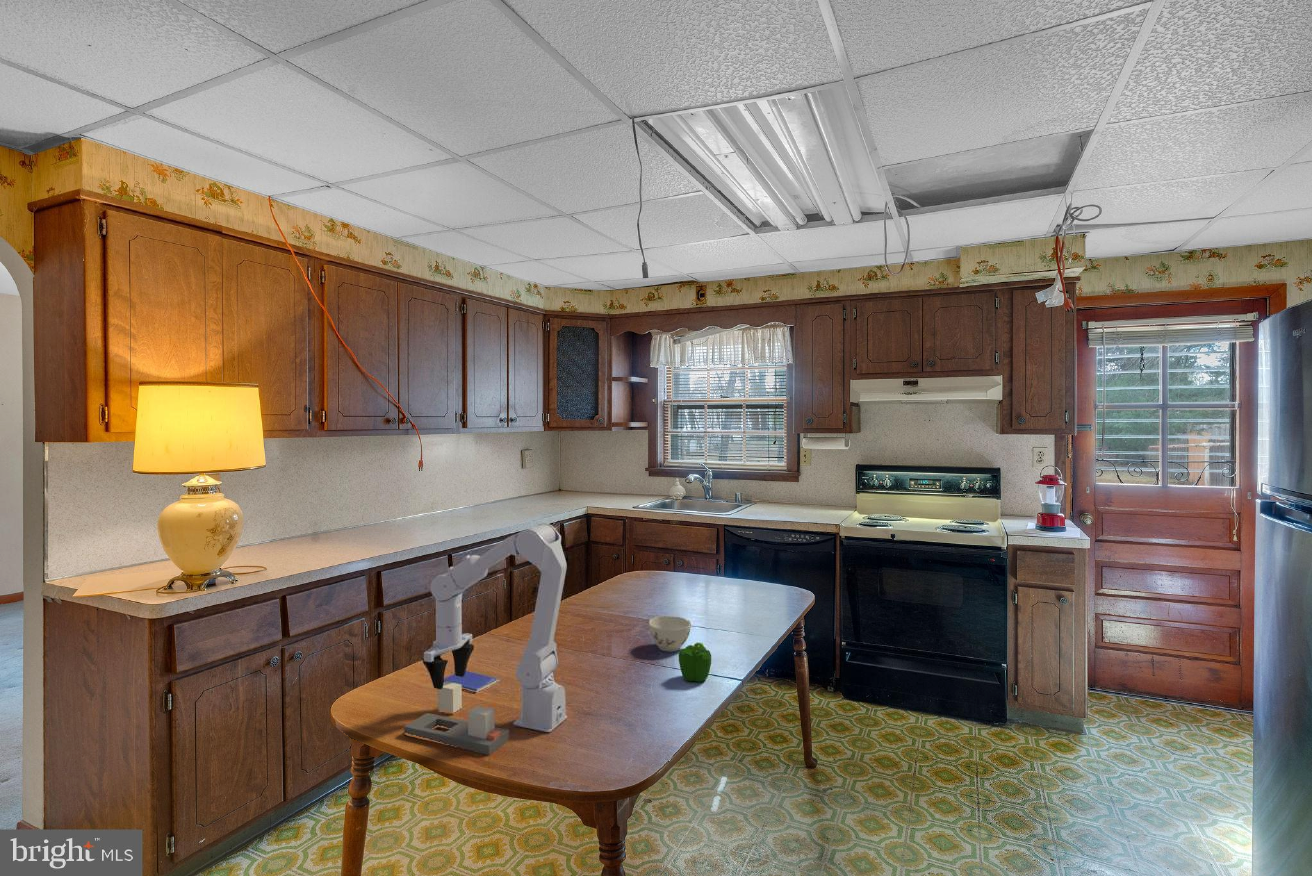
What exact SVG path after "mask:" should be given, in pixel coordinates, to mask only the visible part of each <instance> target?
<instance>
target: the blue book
mask: <svg viewBox="0 0 1312 876" xmlns="http://www.w3.org/2000/svg"><path fill="white" fill-rule="evenodd" d="M497 681H499V682H500V678H497V677H494V676H489V675H485V674H480V673H477V672H473V671H468V670H466V671H465V675H464V677H460V676H456V675H455V673H453V674H451V675H449V676H447V677H444V682H451V683H456V684H462V687H463V688H465V689H469V690H473V691H475V692H478V691H479V690H482V689H484V688H486V687H488V688H490V687H491V686H490V685H492V684H494V683H496V682H497ZM496 684H497V683H496ZM494 685H495V684H494ZM489 686H490V687H489ZM492 686H493V685H492ZM486 689H487V688H486ZM484 690H485V689H484Z"/></svg>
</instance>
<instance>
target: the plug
mask: <svg viewBox="0 0 1312 876" xmlns="http://www.w3.org/2000/svg"><path fill="white" fill-rule="evenodd" d="M462 691H463V690H462V684H456V683H451V682H445V683H444V684H443V688H442V689H437V710H438V709H439V710H445V711H447V712H453V713H454V712H456V711H457V710H459V709H460V708H463V707H462V706H463V704H462V703H463V702H462V701H463V700H462V698H463V696H462V695H463V694H462Z"/></svg>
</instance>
